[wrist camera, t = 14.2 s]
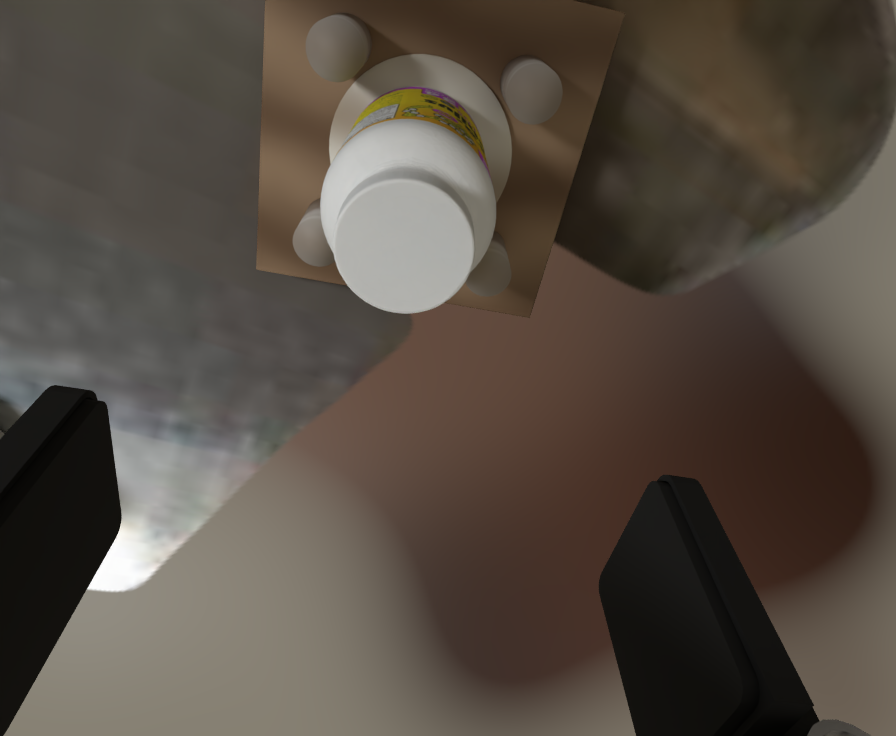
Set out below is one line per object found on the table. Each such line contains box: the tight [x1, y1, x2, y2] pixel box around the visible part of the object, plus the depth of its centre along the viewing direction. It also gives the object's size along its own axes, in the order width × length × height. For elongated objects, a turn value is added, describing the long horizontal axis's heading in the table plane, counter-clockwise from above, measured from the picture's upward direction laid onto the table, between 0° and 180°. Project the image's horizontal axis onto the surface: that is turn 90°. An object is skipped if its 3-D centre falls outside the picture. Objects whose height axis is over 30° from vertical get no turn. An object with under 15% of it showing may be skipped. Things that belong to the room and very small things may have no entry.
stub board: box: [256, 0, 625, 318], centre depth 30 cm, size 16×16×6 cm
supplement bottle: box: [320, 86, 496, 314], centre depth 25 cm, size 7×7×13 cm
